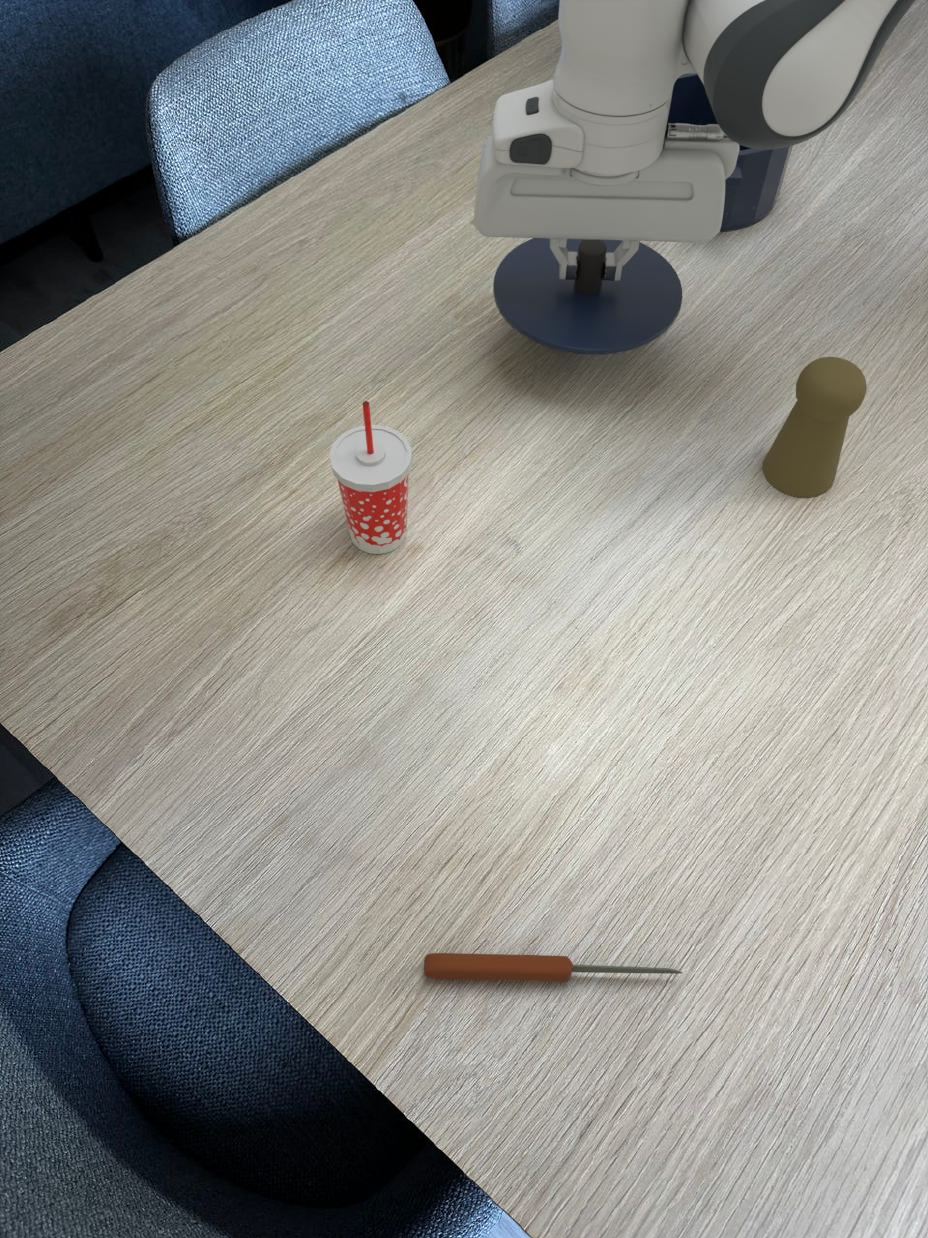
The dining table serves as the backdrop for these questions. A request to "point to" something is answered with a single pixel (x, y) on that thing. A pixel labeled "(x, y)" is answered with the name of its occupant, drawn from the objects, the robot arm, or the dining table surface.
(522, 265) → the lid
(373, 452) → the beverage cup
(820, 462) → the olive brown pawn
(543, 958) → the orange-handled awl
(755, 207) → the pot
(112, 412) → the dining table surface
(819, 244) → the dining table surface
